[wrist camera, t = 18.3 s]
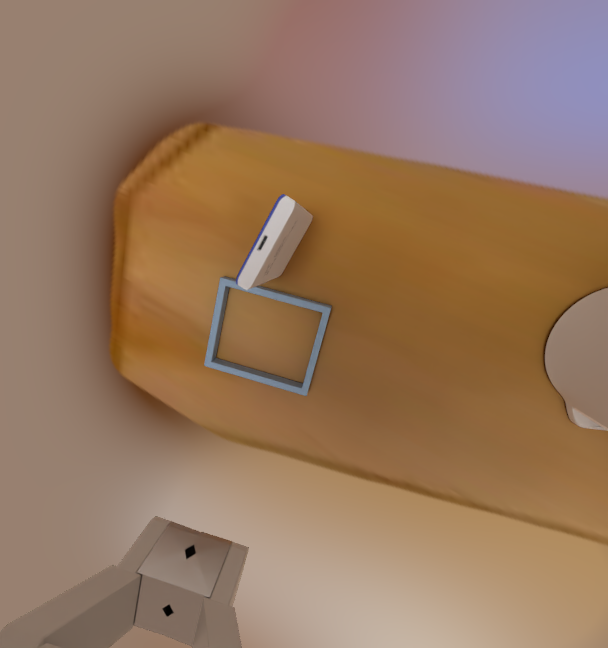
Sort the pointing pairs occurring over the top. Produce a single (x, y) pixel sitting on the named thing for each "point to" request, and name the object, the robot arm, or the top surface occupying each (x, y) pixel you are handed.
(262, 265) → the hard drive
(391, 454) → the top surface
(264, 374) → the frame
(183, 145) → the top surface
